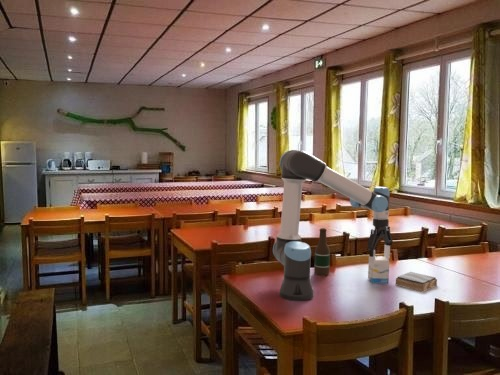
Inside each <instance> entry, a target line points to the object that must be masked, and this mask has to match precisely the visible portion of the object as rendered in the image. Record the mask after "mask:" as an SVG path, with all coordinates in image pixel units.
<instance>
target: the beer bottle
mask: <svg viewBox="0 0 500 375" xmlns="http://www.w3.org/2000/svg"><path fill="white" fill-rule="evenodd" d="M318 231H319V236H318V237H319V239H318V244H317V245H316V247H315V250H314V268H313V269H314V270H313V271H314V275H316V276H320V277H326V276H329V275H330V265H331V263H330V262H331V261H330V260H331V252H330V247H329V245H328V244H327V232H328V230H327V228H319V230H318Z"/></svg>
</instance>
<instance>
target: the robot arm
mask: <svg viewBox="0 0 500 375" xmlns="http://www.w3.org/2000/svg"><path fill="white" fill-rule="evenodd" d="M279 168H280V171H281V180H282V181H283V190H282V191H283V192H282V205H281V217H280V218H281V219H280V232H279V233H277V234H276V239H275V240H276V241H275V242H274V243H273V247H272V253H273V256H274V258H275V260H276V261H278V263H280V264H281V265H283V280H282V283H281V285H280V289H279V296H280V297H281V298H282V299H285V300H287V301H295V302H303V301H308V300H309V301H310V300H311V299H313V298H314V293H315V292H314V289H313V285H312V281H311V258H312V249H311V246H310V245H309V244H308V243H306V242H303V241H302V237H301V235H300V234H299V233H300V232H299V231H300V230H299V229H300V220H301V219H300V217H301V206H302V196H303V195H302V193H303V184H304V183H305V182H306V181H307V180H310V181H312V182H314V183H316V182H318V183H321V184H323V185H324V186H326V187H328V188H329V189H332V190H334V191H335V192H338V193H339V194H341V195H343V196H345V197H347V198H349V203H350V206H351V207H352V208H363V209H367V210H370V211H372V217H373V219H372V226H373V227H374V228H371V229H370V234H369V238H368V241H367V245H366V249H367V250H368V251H369V252H368V254H369V255H368V264H369V263H375V256H376V246H377V244H378V241H379V240H380V239H381V238H382V240H383V242H384V249H383V250H384V252H383V256H384V257H386V258H387V259H388V260H389V259H390V256H391V246H393V243H394V241H393V237H392V234H391V227H390V225H389V224H390V222H389V218H390V217H389V216H390V197H391V196H390V188H389V187H386V186H375V187H373V189H372V190H373V191H372V190H370V189H368V188H367V187H365V186H363V185H362V184H359V183H357V182H356V181H354V180H352V179H350V178H349V177H348V176H347V177H346V176H345V175H343V174H341V173H339V172H338V171H336V170H334V169H332V168H330V167H328V166H327V164H326V162H324V161H322V160H321V159H320V158H318V157H316V156H315V155H312V153H310V152H307V151H305V150H297V149H291V150H288V151H286V152H284V153H283V154H282V155H281V156H280V159H279Z"/></svg>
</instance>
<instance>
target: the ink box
mask: <svg viewBox="0 0 500 375" xmlns="http://www.w3.org/2000/svg"><path fill="white" fill-rule="evenodd" d="M389 278H390V260H389V259H388V258H386V257H384V255H383V256H382V255H381V256H380V255H378V256H376V255H375V263H369V262H368V271H367V280H369V281H370V282H371V283H372V284H389V282H390V281H389Z"/></svg>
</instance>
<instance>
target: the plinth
mask: <svg viewBox="0 0 500 375" xmlns="http://www.w3.org/2000/svg"><path fill="white" fill-rule="evenodd" d="M437 284H438V279H437V278H436V277H434V276H431V275H426V274H421V273H418V272H413V271H409V272H406V273H404V274H401V275H398V276H397V277H395V286H399V287H404V288H407V289H412V290H414V291H415V290H416V291H420V292H422V291H423V292H425V291H428V290H429V289H432V288H434V287H436V286H437Z"/></svg>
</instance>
